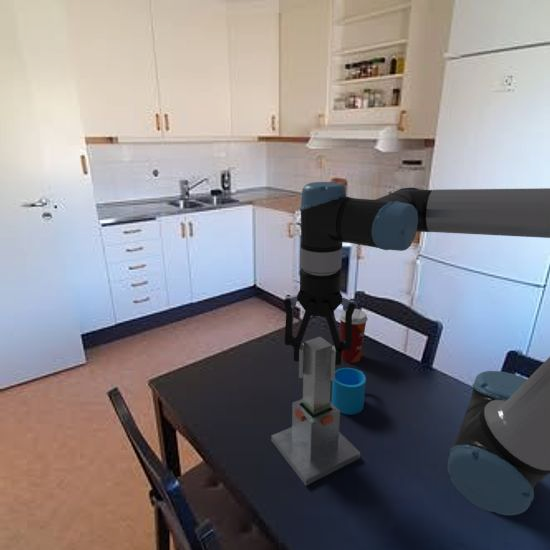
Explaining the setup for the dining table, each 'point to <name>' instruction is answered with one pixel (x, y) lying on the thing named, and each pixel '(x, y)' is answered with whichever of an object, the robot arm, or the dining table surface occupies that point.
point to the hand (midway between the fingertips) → (316, 375)
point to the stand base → (314, 444)
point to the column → (317, 376)
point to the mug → (348, 390)
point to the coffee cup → (353, 335)
